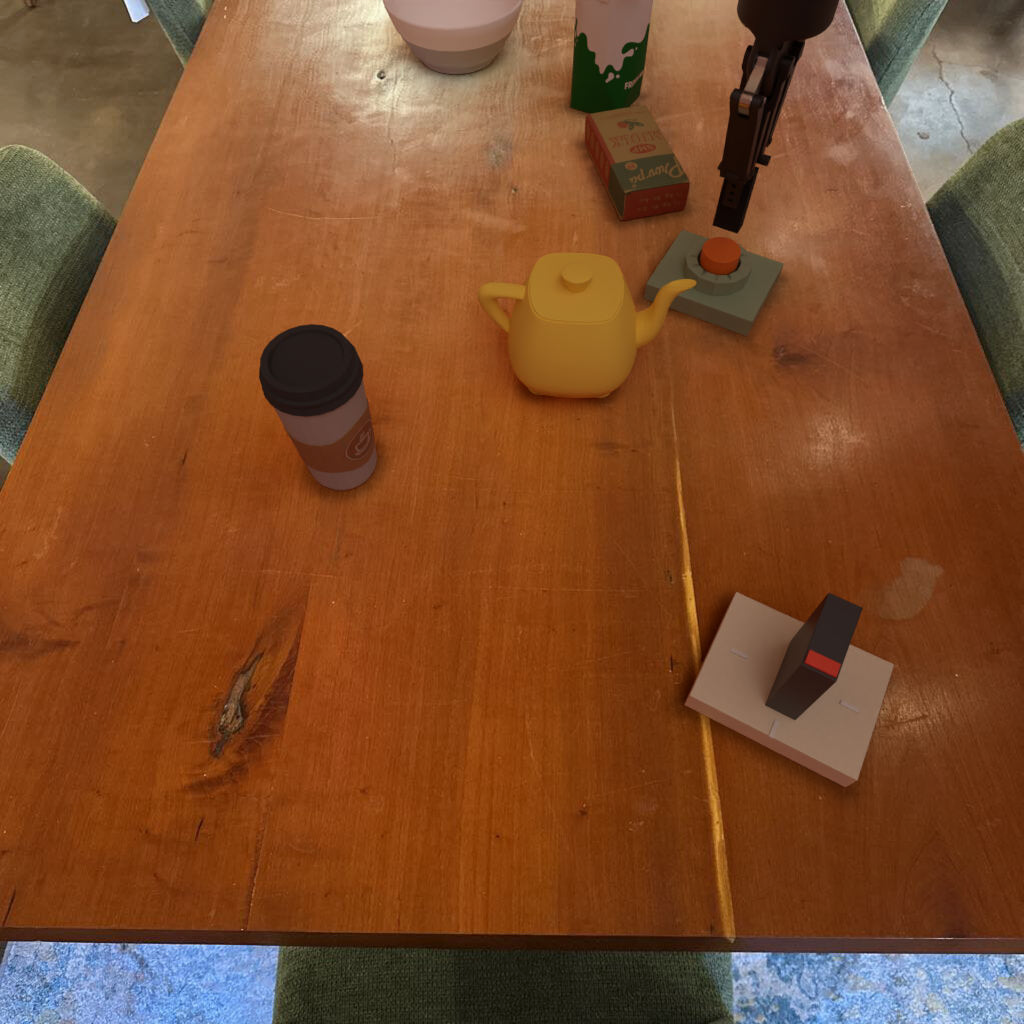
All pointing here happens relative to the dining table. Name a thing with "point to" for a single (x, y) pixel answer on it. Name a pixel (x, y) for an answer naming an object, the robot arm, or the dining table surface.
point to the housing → (716, 285)
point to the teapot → (576, 324)
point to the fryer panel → (750, 677)
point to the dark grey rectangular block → (814, 656)
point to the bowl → (454, 30)
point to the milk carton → (609, 53)
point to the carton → (635, 163)
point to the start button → (720, 256)
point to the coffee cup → (321, 402)
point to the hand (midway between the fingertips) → (727, 225)
